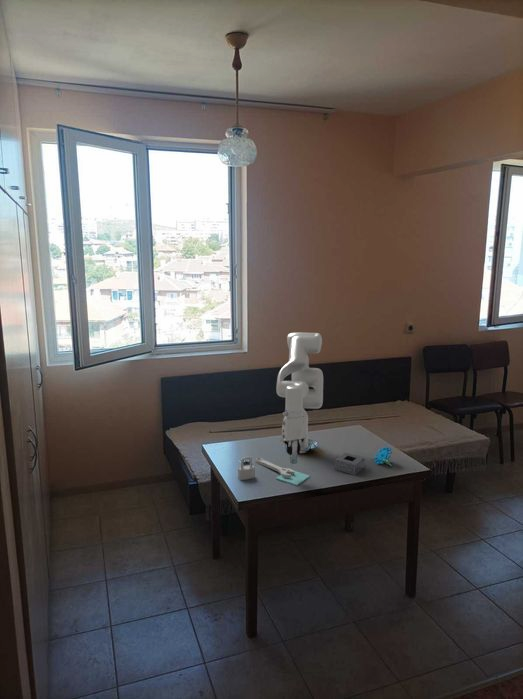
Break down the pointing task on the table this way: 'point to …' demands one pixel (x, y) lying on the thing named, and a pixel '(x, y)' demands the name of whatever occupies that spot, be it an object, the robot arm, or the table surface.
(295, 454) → the metal cylinder
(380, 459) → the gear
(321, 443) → the table surface
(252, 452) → the table surface
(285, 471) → the adjustable wrench
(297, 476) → the mat
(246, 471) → the padlock
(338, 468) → the block
